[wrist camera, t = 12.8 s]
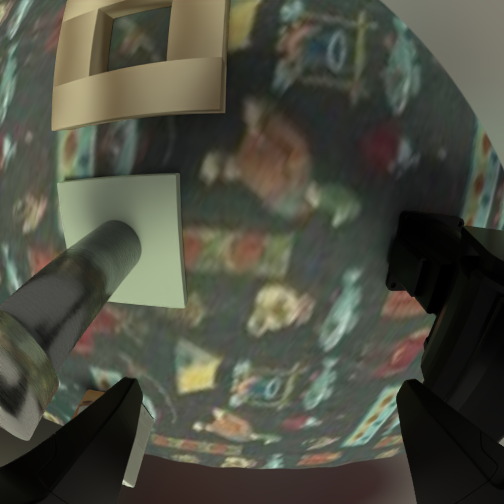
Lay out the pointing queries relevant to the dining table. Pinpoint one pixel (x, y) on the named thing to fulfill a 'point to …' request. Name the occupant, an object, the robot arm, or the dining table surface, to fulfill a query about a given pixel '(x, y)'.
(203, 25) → the socket block
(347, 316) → the dining table surface
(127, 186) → the pad
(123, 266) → the dome-ended metal peg
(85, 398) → the small box
